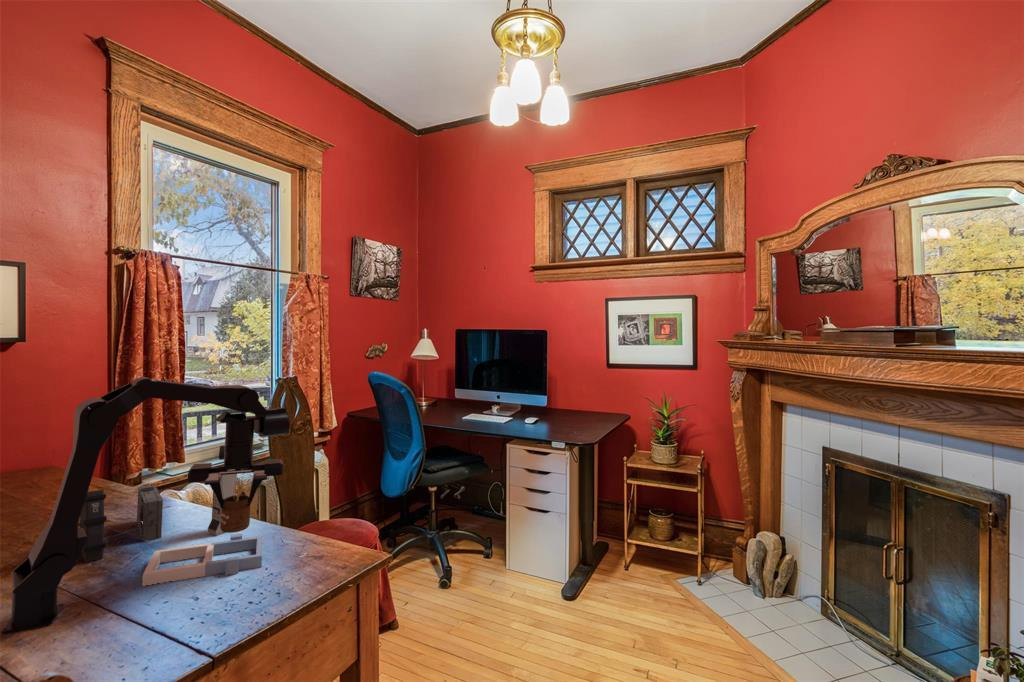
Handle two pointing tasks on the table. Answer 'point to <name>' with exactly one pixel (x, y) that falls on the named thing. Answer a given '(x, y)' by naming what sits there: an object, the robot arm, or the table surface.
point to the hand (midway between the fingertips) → (236, 506)
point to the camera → (149, 512)
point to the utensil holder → (235, 511)
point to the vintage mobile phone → (216, 509)
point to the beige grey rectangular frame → (208, 565)
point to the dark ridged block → (93, 525)
